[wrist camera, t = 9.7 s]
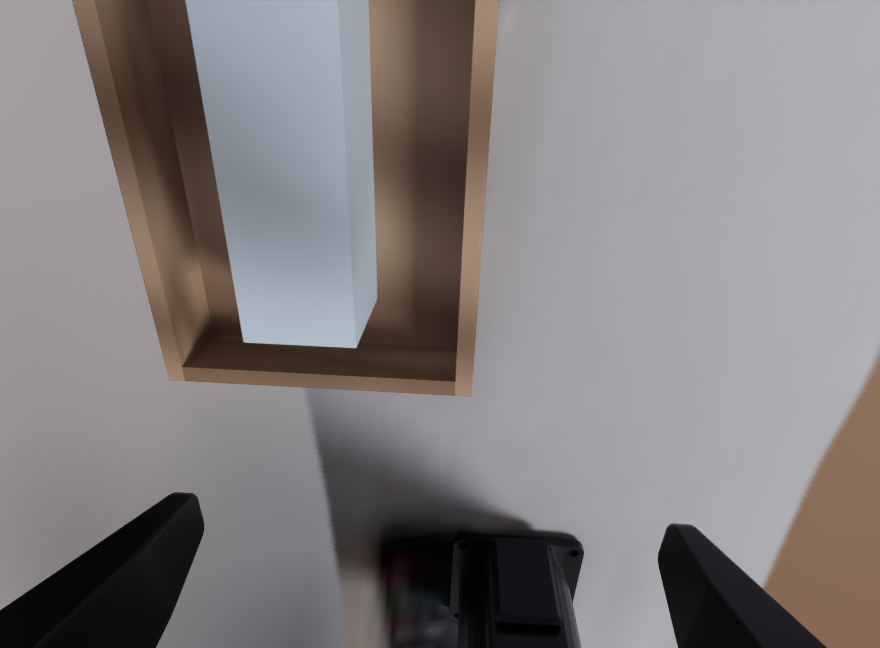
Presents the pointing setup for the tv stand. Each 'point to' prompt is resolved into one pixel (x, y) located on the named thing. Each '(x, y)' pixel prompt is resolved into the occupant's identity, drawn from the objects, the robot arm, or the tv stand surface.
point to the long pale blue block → (292, 162)
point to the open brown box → (395, 192)
